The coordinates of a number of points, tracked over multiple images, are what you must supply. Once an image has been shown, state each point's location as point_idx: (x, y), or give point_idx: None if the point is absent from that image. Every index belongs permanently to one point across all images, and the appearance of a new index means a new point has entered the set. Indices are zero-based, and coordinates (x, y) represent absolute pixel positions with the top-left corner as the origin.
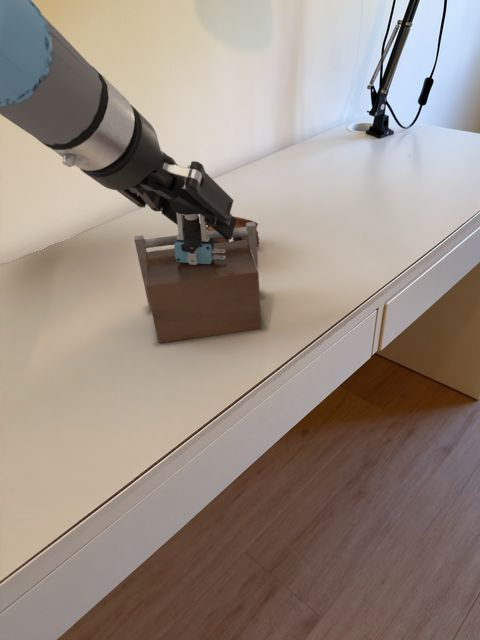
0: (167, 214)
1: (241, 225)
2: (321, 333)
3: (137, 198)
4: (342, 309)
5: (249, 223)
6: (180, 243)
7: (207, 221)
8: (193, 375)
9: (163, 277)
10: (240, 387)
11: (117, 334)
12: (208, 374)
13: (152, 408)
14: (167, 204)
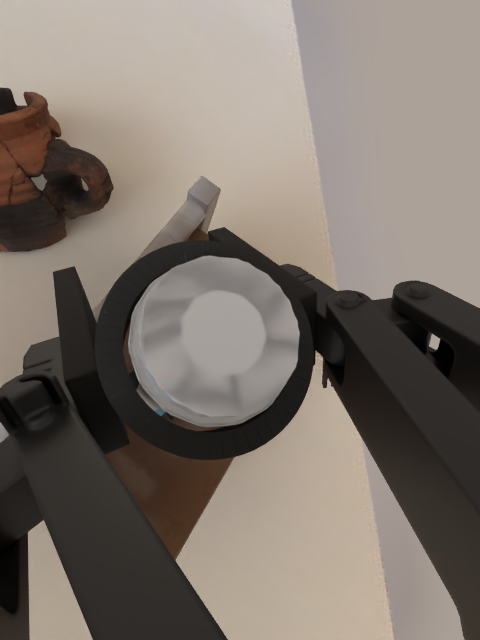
0: (128, 438)
1: (35, 132)
2: (337, 288)
3: (23, 612)
4: (315, 221)
5: (198, 188)
6: (157, 413)
7: (325, 377)
8: (284, 512)
9: (170, 500)
10: (354, 468)
11: (60, 572)
12: (299, 490)
13: (305, 623)
14: (105, 418)
